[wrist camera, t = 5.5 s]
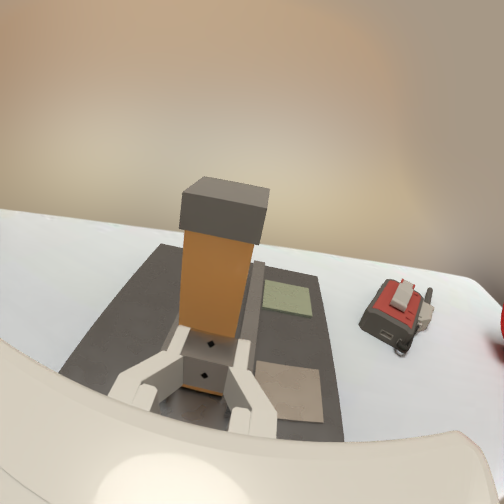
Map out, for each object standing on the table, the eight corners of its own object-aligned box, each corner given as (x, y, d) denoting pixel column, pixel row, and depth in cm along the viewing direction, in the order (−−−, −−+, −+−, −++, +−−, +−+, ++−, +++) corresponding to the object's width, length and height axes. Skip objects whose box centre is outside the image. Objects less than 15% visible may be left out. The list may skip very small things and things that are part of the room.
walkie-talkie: (414, 368, 24) (431, 298, 39) (435, 339, 23) (443, 276, 37) (350, 333, 29) (389, 276, 44) (365, 301, 27) (399, 254, 42)
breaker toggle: (174, 386, 16) (182, 192, 11) (187, 352, 19) (203, 176, 14) (224, 399, 16) (267, 208, 11) (232, 362, 19) (269, 188, 14)
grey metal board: (54, 407, 14) (35, 374, 12) (160, 257, 35) (161, 229, 33) (333, 476, 14) (361, 455, 12) (312, 289, 35) (321, 262, 33)
